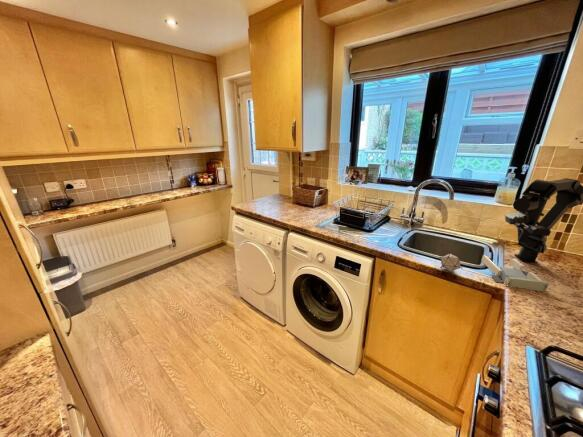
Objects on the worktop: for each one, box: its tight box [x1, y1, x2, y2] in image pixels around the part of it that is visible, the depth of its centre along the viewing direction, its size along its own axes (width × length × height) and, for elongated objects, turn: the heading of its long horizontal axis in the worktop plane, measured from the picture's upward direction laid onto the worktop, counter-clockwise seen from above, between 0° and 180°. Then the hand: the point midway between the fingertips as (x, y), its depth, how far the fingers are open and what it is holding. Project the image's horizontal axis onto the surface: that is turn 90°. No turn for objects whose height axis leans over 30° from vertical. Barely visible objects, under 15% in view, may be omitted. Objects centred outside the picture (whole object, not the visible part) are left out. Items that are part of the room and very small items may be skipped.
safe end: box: [505, 276, 550, 292], centre depth 95 cm, size 1×13×4 cm, turn 77°
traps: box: [491, 270, 529, 284], centre depth 102 cm, size 6×22×1 cm, turn 101°
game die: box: [438, 251, 463, 274], centre depth 105 cm, size 9×8×10 cm
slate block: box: [499, 266, 527, 282], centre depth 100 cm, size 7×7×4 cm
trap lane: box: [481, 254, 549, 292], centre depth 104 cm, size 20×13×3 cm
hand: (519, 240), depth 109 cm, fingers closed
